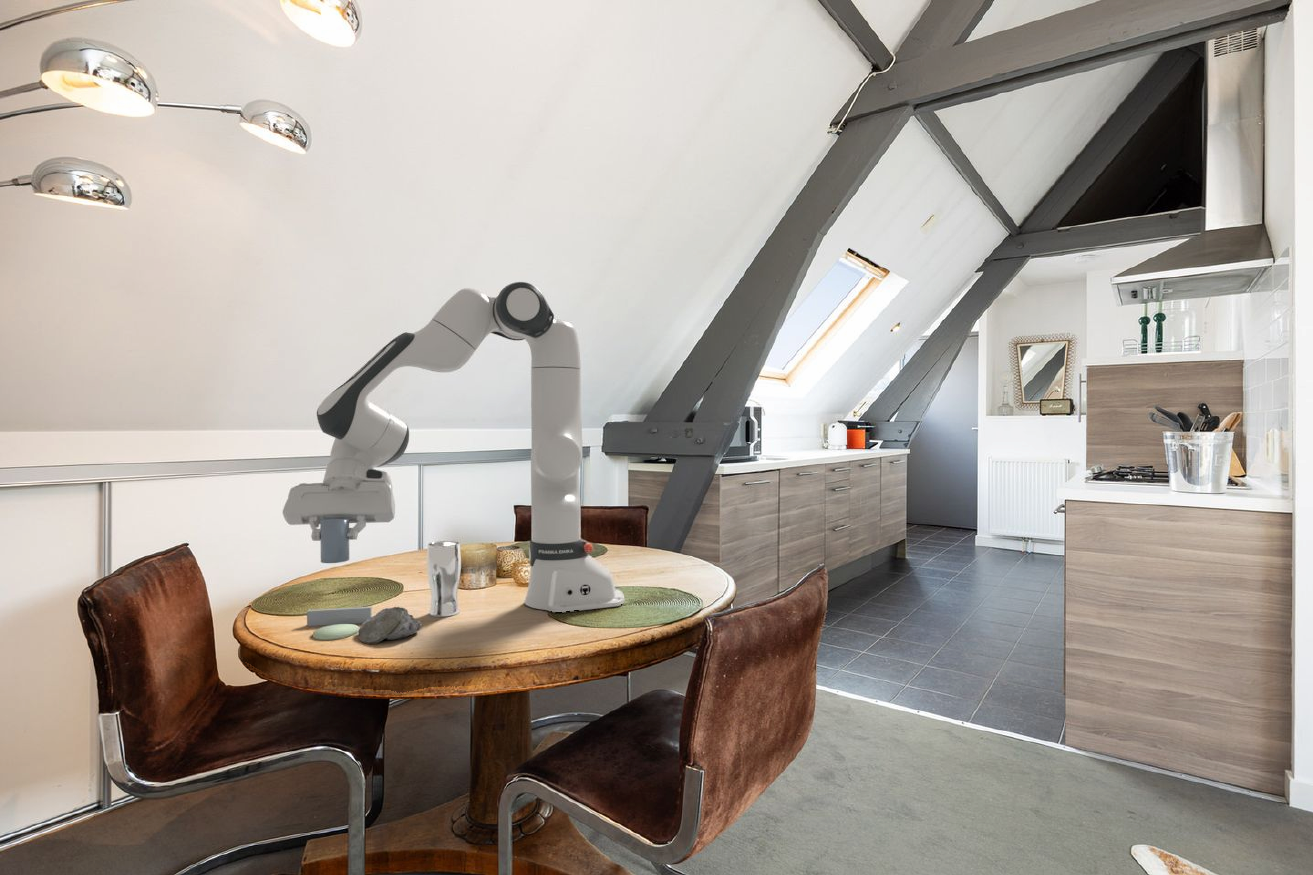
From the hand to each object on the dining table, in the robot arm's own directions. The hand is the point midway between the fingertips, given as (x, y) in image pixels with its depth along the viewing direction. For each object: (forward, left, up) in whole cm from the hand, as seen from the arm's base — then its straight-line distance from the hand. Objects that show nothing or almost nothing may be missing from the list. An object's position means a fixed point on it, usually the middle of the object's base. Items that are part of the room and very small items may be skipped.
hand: (334, 538), depth 127 cm
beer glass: (-19, -11, -19) cm, 29 cm away
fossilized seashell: (-11, +3, -19) cm, 22 cm away
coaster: (0, -1, -19) cm, 19 cm away
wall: (+1, -7, -19) cm, 20 cm away
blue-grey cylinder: (0, -1, -4) cm, 4 cm away
